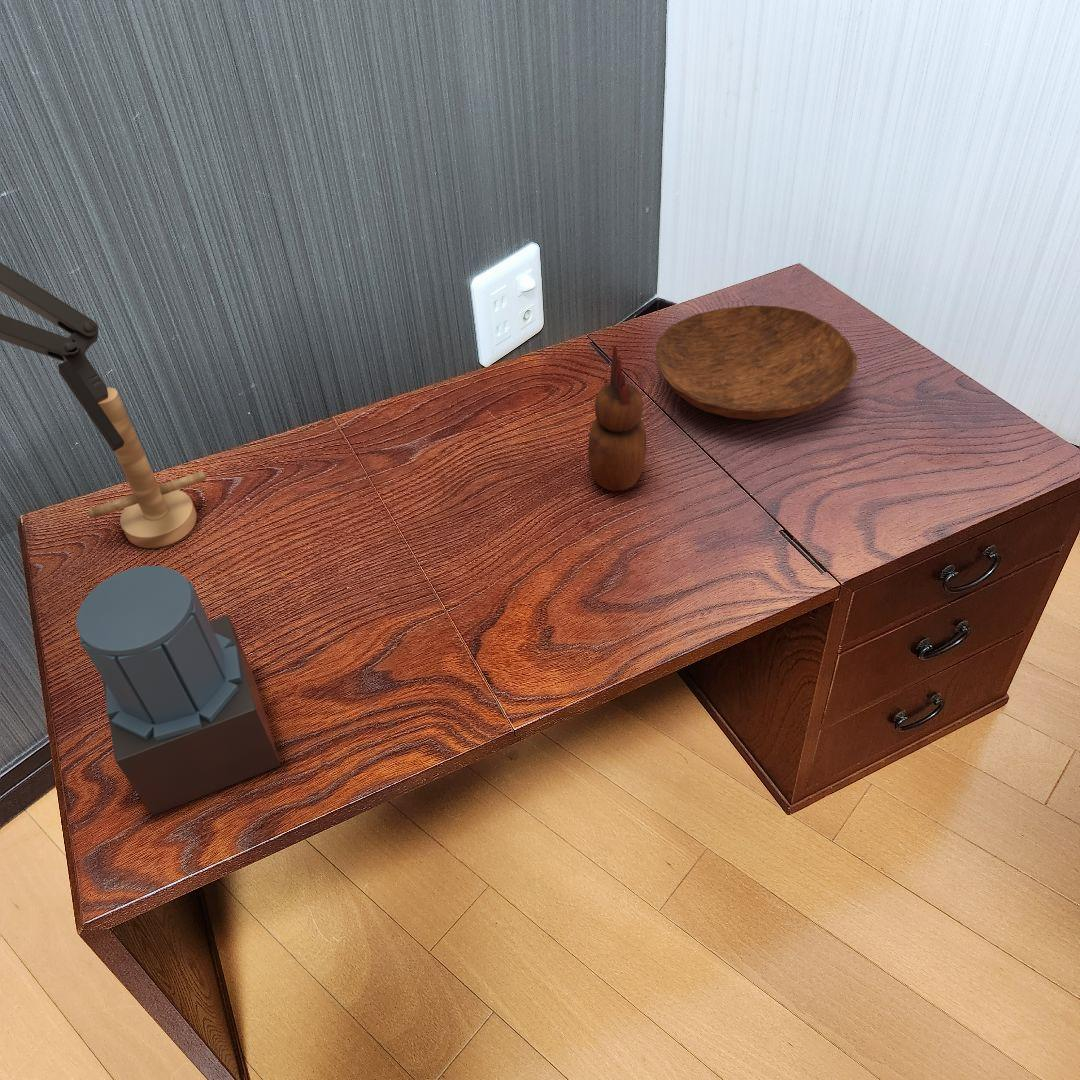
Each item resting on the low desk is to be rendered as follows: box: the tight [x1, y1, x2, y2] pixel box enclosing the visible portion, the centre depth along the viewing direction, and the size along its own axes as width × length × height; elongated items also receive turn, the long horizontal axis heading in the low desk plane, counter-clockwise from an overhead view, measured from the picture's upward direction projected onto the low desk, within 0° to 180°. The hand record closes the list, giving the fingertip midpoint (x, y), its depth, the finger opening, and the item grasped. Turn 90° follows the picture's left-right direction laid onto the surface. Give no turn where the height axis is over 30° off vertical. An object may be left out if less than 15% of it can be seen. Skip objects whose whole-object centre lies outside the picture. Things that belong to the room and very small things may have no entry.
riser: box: [101, 614, 282, 817], centre depth 73 cm, size 10×10×8 cm
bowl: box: [654, 304, 858, 421], centre depth 104 cm, size 20×22×5 cm
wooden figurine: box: [587, 345, 647, 492], centre depth 91 cm, size 7×6×15 cm
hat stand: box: [87, 386, 208, 549], centre depth 88 cm, size 11×7×16 cm, turn 118°
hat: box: [75, 565, 242, 741], centre depth 67 cm, size 10×10×9 cm
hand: (27, 497), depth 64 cm, fingers open, 13 cm apart
